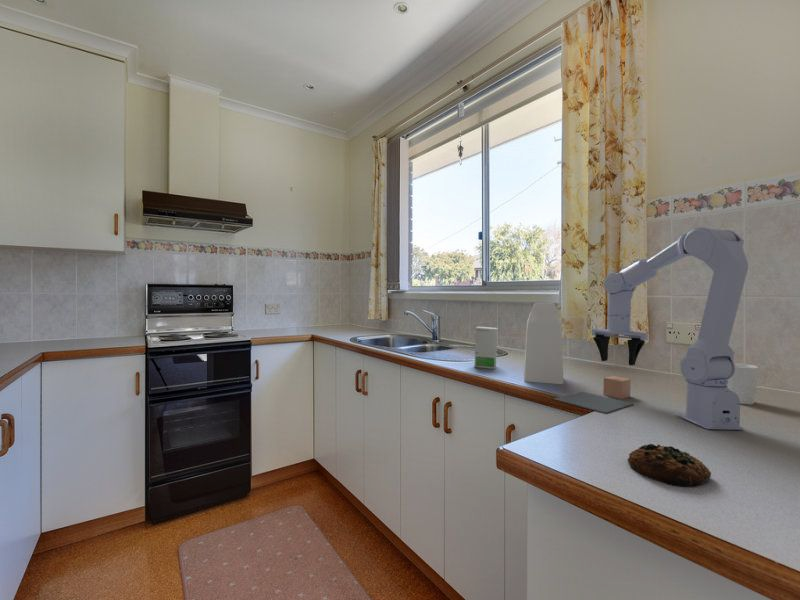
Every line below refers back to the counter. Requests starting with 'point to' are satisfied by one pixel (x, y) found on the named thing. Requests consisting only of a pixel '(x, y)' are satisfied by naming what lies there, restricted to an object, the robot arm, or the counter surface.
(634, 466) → the bread roll
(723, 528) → the counter surface
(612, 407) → the panel
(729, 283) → the robot arm
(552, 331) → the milk
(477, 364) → the skincare box
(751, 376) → the white cup
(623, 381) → the cube
